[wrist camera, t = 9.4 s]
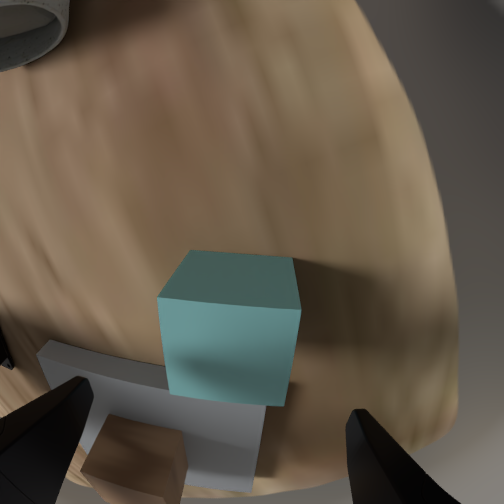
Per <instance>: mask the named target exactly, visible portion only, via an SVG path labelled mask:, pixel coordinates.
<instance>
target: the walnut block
mask: <svg viewBox="0 0 504 504" xmlns="http://www.w3.org/2000/svg"><path fill="white" fill-rule="evenodd" d="M187 470H188V461H187V456H186V451H185V446H184V441H183V436H182V431H180V430H175V429H170V428H165V427H160V426H155V425H151V424H146V423H142V422H138V421H134V420H130V419H126V418H123V417H119V416H116V415H112V414H108V416H107V418H106V420H105V422H104V424H103V426H102V428H101V430H100V431H99V433H98V435H97V437H96V439H95V441H94V443H93V446H92V448H91V450H90V452H89V454H88V456H87V458H86V460H85V462H84V464H83V466H82V468H81V470H80V472H81V473H82V474H83V475H84V477H85V478H86V479H87V480H88V482H89V483H90V484H91V485H92V486H93V488H94V489H95V490H96V491H97V492H98V493H99V494H100V496H101V497H102V498H103V499H104V500H105V501H106V502H108V503H111V504H180V500H181V496H182V492H183V488H184V483H185V479H186V475H187Z"/></svg>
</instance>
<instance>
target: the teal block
mask: <svg viewBox="0 0 504 504" xmlns="http://www.w3.org/2000/svg"><path fill="white" fill-rule="evenodd" d="M157 301H158V311H159V321H160V329H161V338H162V345H163V353H164V360H165V367H166V373H167V379H168V385H169V391H170V394H172V395H178V396H184V397H190V398H197V399H204V400H212V401H220V402H229V403H240V404H251V405H266V406H284V403H285V399H286V394H287V389H288V384H289V378H290V373H291V368H292V363H293V357H294V352H295V346H296V340H297V334H298V329H299V322H300V316H301V304H300V298H299V292H298V287H297V281H296V276H295V270H294V265H293V259H292V258H290V257H277V256H263V255H250V254H237V253H223V252H210V251H197V250H190V251H189V253H188V254H187V255H186V257H185V258H184V260H183V261H182V262H181V264H180V265H179V267H178V268H177V269H176V271H175V272H174V274H173V275H172V276H171V278H170V279H169V281H168V282H167V284H166V285H165V286H164V288H163V289H162V291H161V292H160V294H159V295H158V297H157Z"/></svg>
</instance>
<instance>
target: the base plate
mask: <svg viewBox="0 0 504 504" xmlns="http://www.w3.org/2000/svg"><path fill="white" fill-rule="evenodd" d="M36 356H37V358H38V361H39V363H40V366H41V368H42V370H43V373H44V375H45V377H46V379H47V382H48V384H49V386H50V388H51V390H52V389H54V388H56V387H58V386H59V385H61V384H63V383H65V382H66V381H68V380H70V379H72V378H73V377H75V376H82V377H86V378H87V379H88V380H89V382H90V385H91V387H92V390H93V393H94V400H93V403H92V406H91V409H90V412H89V415H88V419H87V422H86V425H85V428H84V431H83V434H82V437H81V439H80V441H79V442H80V444H81V445H82V447H83V448H84V450H85V452H86V453H87V455H88V454H89V452H90V450H91V448H92V446H93V443H94V441H95V439H96V437H97V435H98V433H99V431H100V430H101V428H102V426H103V424H104V422H105V420H106V418H107V416H108V414H112V415H116V416H119V417H123V418H126V419H130V420H134V421H138V422H142V423H146V424H151V425H155V426H160V427H165V428H170V429H175V430H180V431H182V436H183V441H184V446H185V451H186V456H187V461H188V470H187V475H186V479H185V483H184V484H186V485H192V486H198V487H205V488H212V489H219V490H228V491H238V492H251V491H252V486H253V480H254V475H255V469H256V464H257V458H258V452H259V447H260V441H261V435H262V429H263V423H264V417H265V410H266V405H251V404H240V403H229V402H220V401H212V400H204V399H197V398H190V397H184V396H178V395H172V394H170V391H169V385H168V379H167V373H166V367H165V366H159V365H153V364H148V363H143V362H138V361H133V360H128V359H123V358H119V357H114V356H110V355H106V354H101V353H97V352H93V351H89V350H86V349H82V348H78V347H74V346H71V345H67V344H64V343H60V342H57V341H54V340H49V341H48V342H47V343H46V344H45V345H44V346H43V347H42V348H41V349H40V351H39V352H38V353H37V354H36Z"/></svg>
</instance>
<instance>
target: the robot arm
mask: <svg viewBox="0 0 504 504" xmlns="http://www.w3.org/2000/svg"><path fill="white" fill-rule="evenodd" d="M1 365H2V366H4V367H6V368H8V369H10V370H13V368H14V367H15V366H14V363H13V361H12V359H11V357H10V354H9V352H8V350H7V347H6V345H5V342H4V340H3V337H2V335H1V332H0V366H1ZM93 400H94V393H93V390H92V387H91V385H90V382H89V380H88V379H87V378H86V377H82V376H75V377H73V378H72V379H70V380H68V381H66V382H65V383H63V384H61V385H59V386H58V387H56V388H54V389H52V390H51V391H49V392H47V393H45V394H44V395H42V396H40V397H38V398H36V399H35V400H33V401H31V402H29V403H28V404H26V405H24V406H22V407H20V408H19V409H17V410H15V411H13V412H11V413H10V414H8V415H7V416H4V417H2V418H1V419H0V504H55V502H56V500H57V496H58V494H59V491H60V489H61V486H62V483H63V481H64V478H65V476H66V473H67V470H68V468H69V465H70V463H71V460H72V458H73V456H74V453H75V451H76V448H77V446H78V444H79V441H80V439H81V437H82V434H83V431H84V428H85V425H86V422H87V419H88V415H89V412H90V409H91V406H92V403H93ZM346 447H347V467H348V474H349V480H350V486H351V493H352V499H353V504H461V503H460V502H458V501H457V500H456V499H454V498H453V497H452V496H451V495H449V494H448V493H447V492H446V491H444V490H443V489H442V488H441V487H440V486H439V485H438V484H437V483H436V482H435V481H434V480H433V479H432V478H431V477H430V476H429V475H428V474H426V472H425V471H424V470H423V469H422V468H421V467H420V466H419V465H418V464H417V463H416V462H415V461H414V460H413V459H412V458H411V457H410V456H409V454H408V453H407V452H406V451H405V450H404V449H403V448H402V447H401V446H400V445H399V444H398V443H397V442H396V441H395V440H394V439H393V438H392V437H391V436H390V434H389V433H388V432H387V431H386V430H385V429H384V428H383V427H382V426H381V425H380V424H379V423H378V422H377V421H376V420H375V418H374V417H373V416H372V415H371V414H370V413H369V412H368V411H367V410H366V409H354V410H353V411H352V413H351V415H350V417H349V419H348V421H347V424H346Z"/></svg>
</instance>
